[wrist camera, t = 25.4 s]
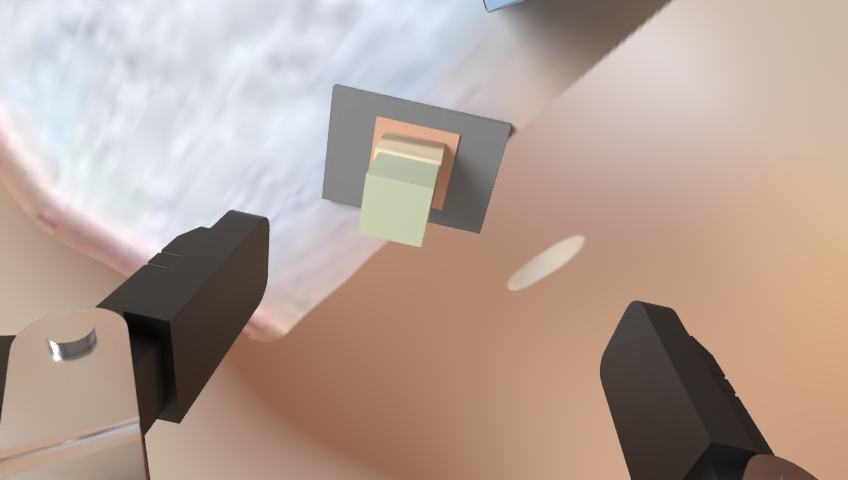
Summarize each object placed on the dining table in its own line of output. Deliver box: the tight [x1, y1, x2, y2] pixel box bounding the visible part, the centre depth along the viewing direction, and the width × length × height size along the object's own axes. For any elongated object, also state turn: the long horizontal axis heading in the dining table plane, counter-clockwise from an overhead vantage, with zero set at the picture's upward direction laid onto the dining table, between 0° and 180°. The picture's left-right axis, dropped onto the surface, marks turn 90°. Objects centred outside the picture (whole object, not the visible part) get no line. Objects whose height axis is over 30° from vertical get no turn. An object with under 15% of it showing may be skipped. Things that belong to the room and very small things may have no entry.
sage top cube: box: [358, 152, 439, 247], centre depth 37 cm, size 5×5×5 cm
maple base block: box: [373, 130, 445, 221], centre depth 42 cm, size 6×6×5 cm
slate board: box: [322, 84, 511, 233], centre depth 44 cm, size 11×16×1 cm
